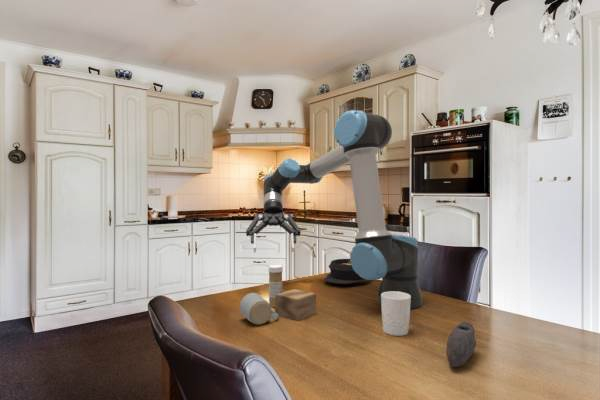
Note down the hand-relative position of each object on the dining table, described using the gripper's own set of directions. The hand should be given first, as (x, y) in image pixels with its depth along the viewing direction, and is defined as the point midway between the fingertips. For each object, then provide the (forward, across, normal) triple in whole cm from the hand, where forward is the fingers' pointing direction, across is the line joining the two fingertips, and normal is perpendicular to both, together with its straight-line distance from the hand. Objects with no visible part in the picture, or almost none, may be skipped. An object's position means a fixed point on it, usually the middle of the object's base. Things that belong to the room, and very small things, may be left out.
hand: (273, 250), depth 138 cm
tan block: (+26, -6, +2) cm, 27 cm away
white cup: (+38, -32, +15) cm, 52 cm away
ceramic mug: (+30, +5, +6) cm, 31 cm away
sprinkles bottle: (+20, 0, -4) cm, 20 cm away
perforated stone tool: (+51, -41, +28) cm, 71 cm away
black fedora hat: (-2, -32, -27) cm, 42 cm away
